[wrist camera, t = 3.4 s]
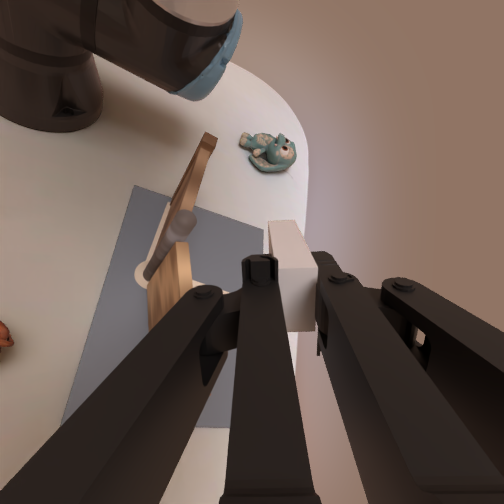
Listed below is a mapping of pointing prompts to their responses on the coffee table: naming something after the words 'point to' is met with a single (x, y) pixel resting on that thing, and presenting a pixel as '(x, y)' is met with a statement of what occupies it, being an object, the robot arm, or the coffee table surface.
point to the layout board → (135, 293)
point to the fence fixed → (182, 205)
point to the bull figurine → (5, 336)
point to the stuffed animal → (270, 151)
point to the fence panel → (169, 283)
